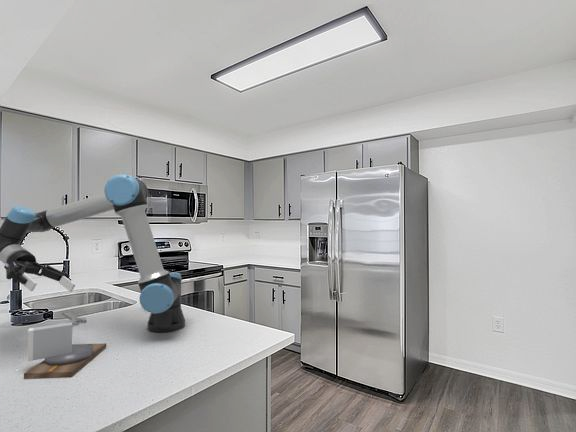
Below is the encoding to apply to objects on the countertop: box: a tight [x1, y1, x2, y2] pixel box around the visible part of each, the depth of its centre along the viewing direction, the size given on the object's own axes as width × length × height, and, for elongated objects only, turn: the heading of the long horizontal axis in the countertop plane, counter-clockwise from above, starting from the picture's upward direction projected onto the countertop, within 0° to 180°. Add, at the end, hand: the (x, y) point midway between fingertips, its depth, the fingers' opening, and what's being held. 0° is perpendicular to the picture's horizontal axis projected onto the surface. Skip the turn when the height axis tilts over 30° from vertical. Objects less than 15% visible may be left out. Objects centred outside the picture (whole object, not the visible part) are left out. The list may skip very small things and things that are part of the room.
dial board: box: [23, 343, 107, 380], centre depth 105 cm, size 13×22×2 cm, turn 5°
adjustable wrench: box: [61, 310, 87, 327], centre depth 151 cm, size 25×6×2 cm, turn 43°
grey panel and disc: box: [27, 322, 93, 365], centre depth 104 cm, size 17×13×11 cm
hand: (54, 287), depth 108 cm, fingers open, 13 cm apart
